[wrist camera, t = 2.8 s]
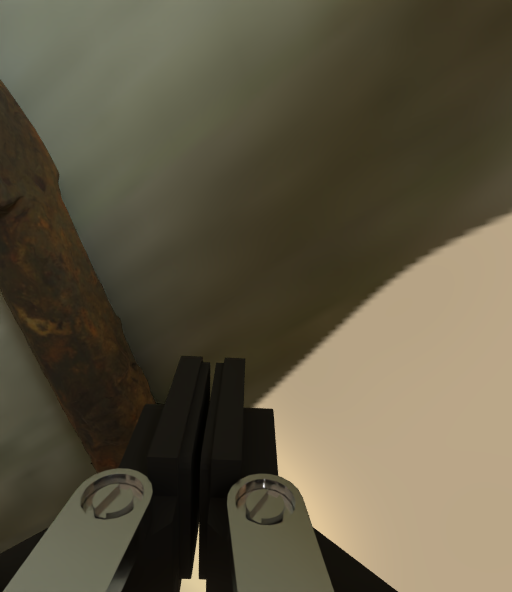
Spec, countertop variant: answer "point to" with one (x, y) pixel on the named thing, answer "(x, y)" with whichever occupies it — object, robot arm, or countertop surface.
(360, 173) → the countertop surface
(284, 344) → the countertop surface
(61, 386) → the hand tool
